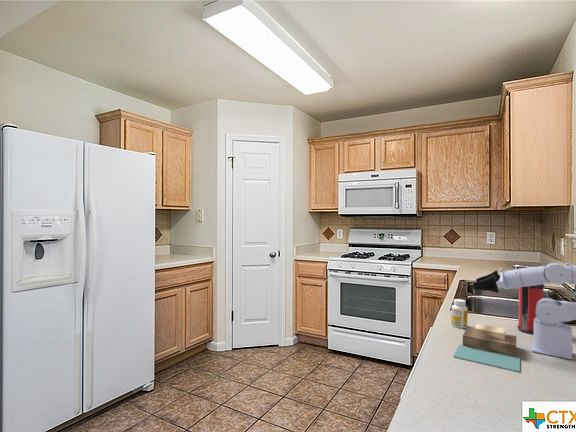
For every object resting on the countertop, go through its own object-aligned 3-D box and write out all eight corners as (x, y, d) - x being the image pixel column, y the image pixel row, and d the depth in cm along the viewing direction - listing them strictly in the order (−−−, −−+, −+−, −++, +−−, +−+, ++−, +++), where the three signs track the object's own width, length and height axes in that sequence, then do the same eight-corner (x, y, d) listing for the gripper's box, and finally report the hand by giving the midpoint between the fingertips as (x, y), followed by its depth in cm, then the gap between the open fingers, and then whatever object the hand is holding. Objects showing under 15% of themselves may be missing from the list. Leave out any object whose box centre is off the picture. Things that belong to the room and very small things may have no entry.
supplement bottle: (463, 324, 131) (464, 298, 131) (469, 328, 126) (470, 302, 126) (449, 323, 132) (449, 298, 132) (454, 328, 126) (455, 301, 126)
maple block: (505, 334, 110) (505, 328, 110) (504, 340, 105) (504, 333, 105) (476, 329, 114) (476, 323, 114) (474, 334, 109) (474, 328, 109)
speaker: (543, 336, 119) (544, 284, 119) (516, 331, 124) (518, 281, 124) (543, 330, 125) (544, 281, 125) (518, 326, 130) (519, 278, 130)
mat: (519, 358, 100) (519, 357, 100) (519, 372, 91) (519, 371, 91) (459, 345, 109) (459, 344, 109) (453, 357, 100) (453, 356, 100)
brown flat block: (516, 347, 109) (516, 336, 109) (515, 357, 100) (516, 345, 100) (466, 337, 117) (467, 327, 117) (462, 346, 108) (462, 335, 108)
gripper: (518, 262, 116) (474, 269, 124) (516, 269, 105) (468, 276, 113) (525, 282, 116) (480, 288, 123) (523, 292, 104) (474, 297, 112)
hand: (475, 284), depth 118 cm, fingers open, 7 cm apart
